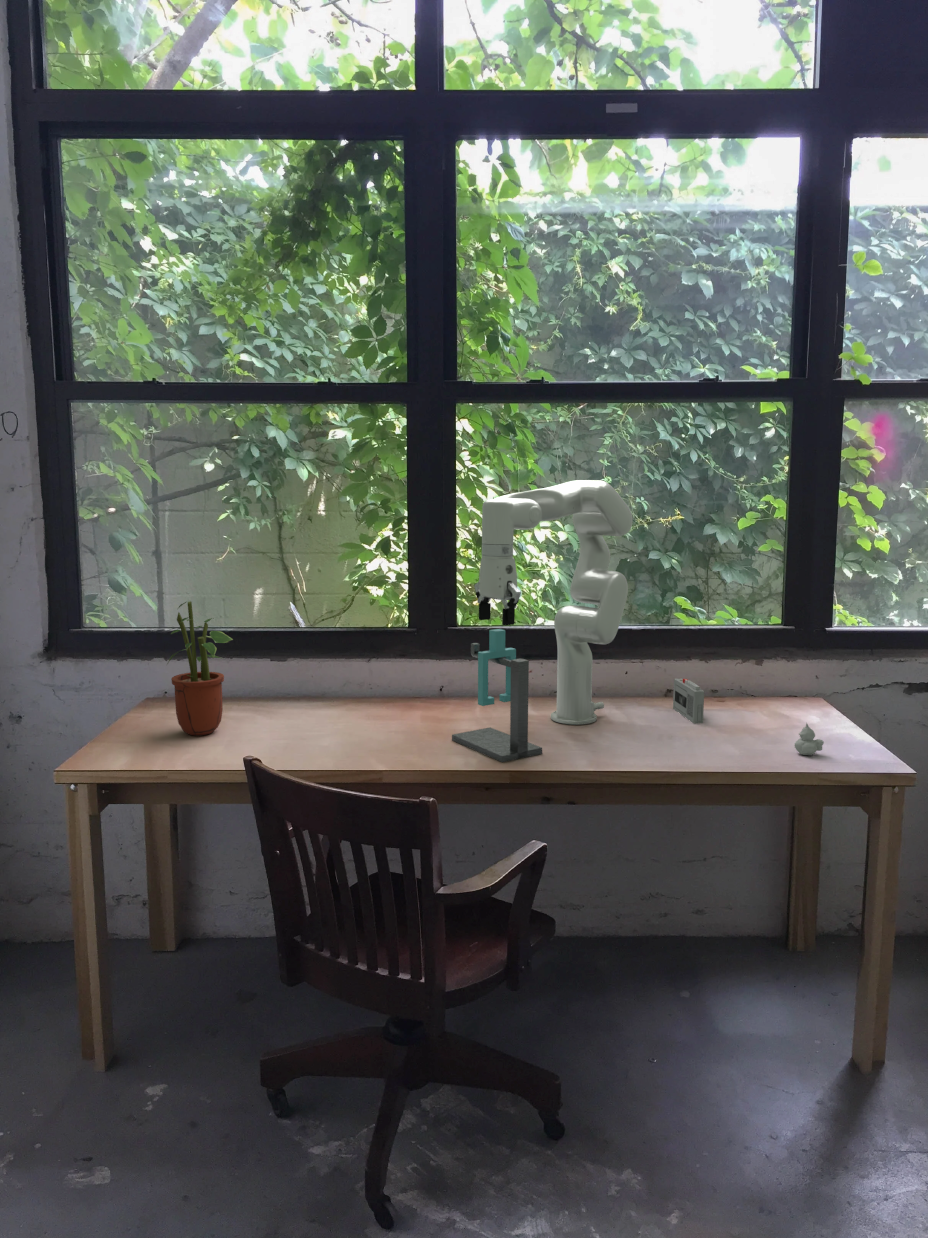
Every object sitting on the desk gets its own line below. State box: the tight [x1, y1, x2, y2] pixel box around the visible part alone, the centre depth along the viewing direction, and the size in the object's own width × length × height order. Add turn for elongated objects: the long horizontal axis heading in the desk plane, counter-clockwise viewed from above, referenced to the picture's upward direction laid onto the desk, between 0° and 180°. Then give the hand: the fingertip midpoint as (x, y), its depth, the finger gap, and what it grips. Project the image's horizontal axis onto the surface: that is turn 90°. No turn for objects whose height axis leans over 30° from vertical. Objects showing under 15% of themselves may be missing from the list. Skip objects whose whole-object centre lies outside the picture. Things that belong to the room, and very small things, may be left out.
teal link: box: [477, 628, 517, 707], centre depth 220 cm, size 10×2×18 cm, turn 124°
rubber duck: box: [794, 722, 825, 756], centre depth 217 cm, size 5×7×8 cm
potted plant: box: [166, 600, 234, 737], centre depth 236 cm, size 17×16×35 cm
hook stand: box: [451, 642, 543, 763], centre depth 222 cm, size 12×22×25 cm, turn 34°
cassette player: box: [672, 678, 705, 724], centre depth 252 cm, size 16×3×10 cm, turn 8°
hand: (496, 622), depth 218 cm, fingers open, 9 cm apart
